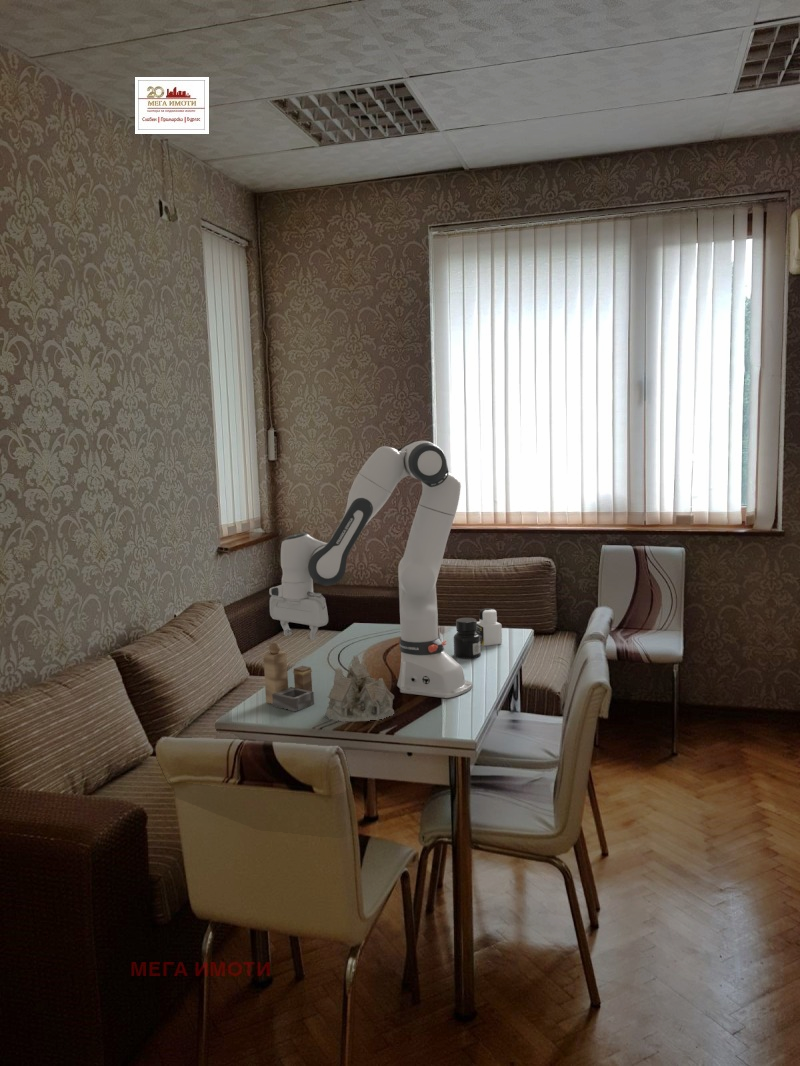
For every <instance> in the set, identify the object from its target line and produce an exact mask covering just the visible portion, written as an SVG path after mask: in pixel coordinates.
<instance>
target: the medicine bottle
mask: <svg viewBox="0 0 800 1066" xmlns="http://www.w3.org/2000/svg"><path fill="white" fill-rule="evenodd" d="M497 611H498V610H496V609H495V608H491V607H490V608H488V607H486V608H482V609H480V610H479V612H478V615H479V618H478V619H479V621H477V631H476V632H477V633H478V634H479V635H480V646H483V647H486V646H488V647H489V646H495V645H502V644H503V629H502V628H503V627H502V623H500V622H498V616H497V615H498V612H497Z"/></svg>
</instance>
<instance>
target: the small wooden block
mask: <svg viewBox="0 0 800 1066" xmlns="http://www.w3.org/2000/svg"><path fill="white" fill-rule="evenodd" d="M312 672H313V671H312V668H311V667H310V666H305V665H300V666H297V667H295V668H293V671H292V673H293V677H294V678H293V680H294V682H293V683H294V688H299V689H303V690H308V691H312V692H313V682H312V681H313V680H312Z"/></svg>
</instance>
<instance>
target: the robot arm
mask: <svg viewBox="0 0 800 1066" xmlns="http://www.w3.org/2000/svg"><path fill="white" fill-rule="evenodd" d="M407 477H411V478H413V479H415V480H418V481H420V482H421V486H422V491H421V495H420V498H419V502H418V505H417V508H416V512H415V515H414V518H413V521H412V524H411V527H410V532H409V534H408V538H407V542H406V546H405V548H404V549H405V550H404V553H403V557H402V558H401V559H400V560H399V563H398V569H397V570H398V571H397V575H398V577H397V579H398V596H399V597H398V599H399V600H398V601H399V618H400V619H399V622H400V625H399V626H400V627H399V628H400V638H399V651H400V667H399V668H400V669H399V676H398V681H397V684H396V686H397V687H398V688H399V692H400V693H402V694H408V695H418V696H424V697H425V696H426V697H434V698H443V699H448V698H455V697H457V696H460V695H463V694H465V693H467V692H469V691H470V690H472V688H473V682H472V681H470V680H466V679H465V674H464V670H463V669H464V668H463V666H462V665H461V664H460V663H458V661H457V660H455V659H454V658H453V657H452V656H451V655H449V654H448V653H447V651H445V648H444V646H446V645H447V640H444V641H442V639H441V637H440V636H439V622H438V621H439V618H438V617H439V616H438V599H437V581H438V577H439V574H440V569H441V566H442V563H443V558H444V554H445V551H446V547H447V542H448V539H449V536H450V532H451V529H452V527H453V522H454V520H455V516H456V513H457V509H458V507H459V500H460V495H461V487H462V486H461V481H460V480H459V478H458V477H457V476H456V475H454V474H453V473H451V472H449V467H448V462H447V458H446V455H445V452H444V451H443V449H442V448H441V447H440V446H439V445H437V444H435V443H433V442H431V441H427V440H415V441H411V442H408V443H407V444H405V445H403V446H401V447H399V448H398V449H396V448H395V447H392V446H386V445H384V446H380V447H378V448H377V449H376V450H375V451H374V452H373V453H372V454H370V456H369V458H368V459H367V460H366V461H365V463H364V464H362V467H361V468H360V469H359V471H358V474H356V475H355V478H354V479H353V483H352V485H351V487H350V489H349V492H348V495H347V502H346V503H347V504H346V508H345V511H344V514H343V516H342V519H341V521H340V522H339V524H338V526H337V527H336V530H334V532H333V534H332V536H331V538H330V539H329V541H328V542H324V541H322V540H318V538H317V539H316V538H315V537H314V536H311V535H310V534H308V533H306V532H299V533H298V532H297V533H293V534H291V535H288V536H286V537H285V538H284V539H283V540H282V541H281V544H280V545H281V546H280V567H281V569H282V575H281V584H279V585H277V586H272V587H270V588H269V591H268V592H269V595H270V597H269V615H270V617H271V618H272V620H277V621H280V626H281V627H282V629H283V636H286V637H290V636H292V635H293V632H292V631H293V630H292V628H290V626H289V623H295V624H301V625H306V626H309V629H310V632H309V633H307V634H306V636H307V640H308V641H315V640H316V634H317V632H318V629H319V628H320V627H324V626H327V624H328V623H329V615H328V607H327V602H326V598H325V597H324V595H323V594H322V593H320V592H314V582H315V583H317V585H321V586H325V587H328V586H334V585H336V584H337V583H339V582H340V581H341V580H342V579H343V577H344V575H345V572H346V567H347V559H348V556H349V554H350V552H351V550H352V548H353V547H354V545H355V543H356V542H357V540H358V538H359V536H360V535H361V533H362V531H364V529H365V527H366V526H367V524H369V522H370V521H371V520H372V519H373V517H375V515H377V513H378V512H379V511H381V509H382V508H383V506H384V505H385V504H386V503H387V501H388V500H389V498H390V497H391V496H392V494H393V491H394V490H395V488H396V487H397V485H398V484H399V482H401V480H403V479H405V478H407Z"/></svg>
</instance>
